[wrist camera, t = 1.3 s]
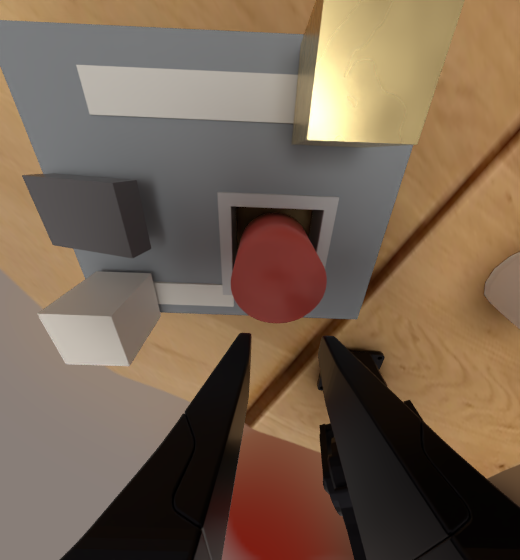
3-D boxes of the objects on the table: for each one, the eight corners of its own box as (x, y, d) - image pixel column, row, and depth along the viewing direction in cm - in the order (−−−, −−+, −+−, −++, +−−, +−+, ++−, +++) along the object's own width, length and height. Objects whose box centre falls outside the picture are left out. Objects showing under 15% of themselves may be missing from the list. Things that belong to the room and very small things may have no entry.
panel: (345, 299, 22) (358, 321, 19) (117, 291, 22) (95, 312, 19) (410, 63, 13) (451, 38, 10) (37, 45, 13) (-26, 15, 10)
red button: (302, 277, 18) (318, 324, 13) (240, 274, 18) (231, 321, 13) (312, 214, 15) (335, 242, 10) (239, 211, 15) (229, 238, 10)
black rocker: (151, 248, 14) (132, 258, 13) (77, 237, 15) (52, 245, 14) (136, 180, 12) (112, 183, 11) (52, 173, 13) (21, 175, 12)
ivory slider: (160, 316, 18) (129, 366, 14) (112, 314, 18) (65, 363, 14) (150, 273, 17) (111, 316, 12) (96, 271, 16) (36, 313, 12)
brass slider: (363, 147, 12) (417, 144, 8) (291, 144, 12) (307, 139, 8) (385, 48, 10) (472, -27, 6) (300, 44, 10) (327, -34, 6)
